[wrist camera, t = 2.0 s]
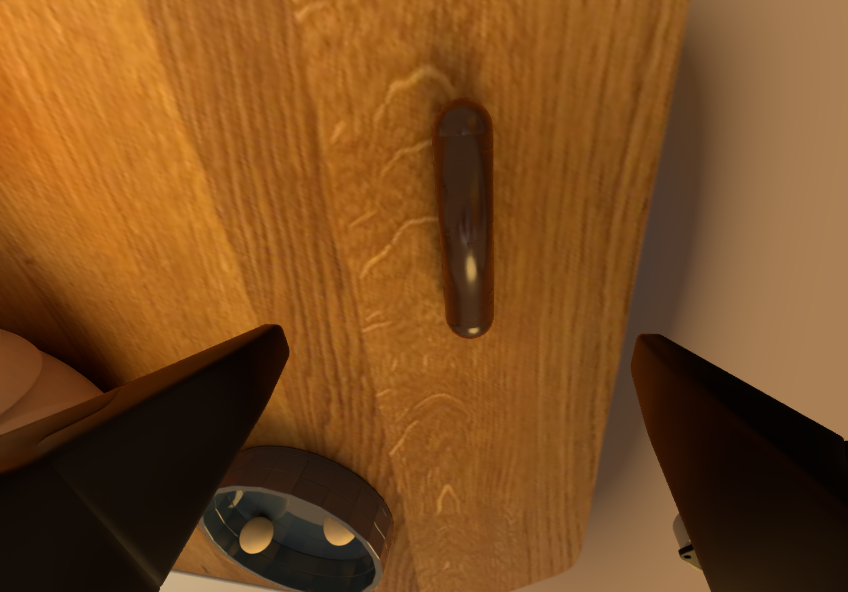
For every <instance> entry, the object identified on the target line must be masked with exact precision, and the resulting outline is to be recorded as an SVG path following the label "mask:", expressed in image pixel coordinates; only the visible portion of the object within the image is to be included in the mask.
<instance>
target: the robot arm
mask: <svg viewBox="0 0 848 592" xmlns="http://www.w3.org/2000/svg"><path fill="white" fill-rule="evenodd" d="M288 357H289V346H288V343H287V340H286V337H285V334H284V331H283V329H282V327H281V326H280V325H276V324H265V325H262V326H260V327H258V328H255V329H253V330H251V331H248V332H246V333H244V334H241V335H239V336H237V337H234V338H232V339H230V340H227V341H225V342H223V343H220V344H218V345H216V346H213V347H211V348H209V349H206V350H204V351H202V352H199V353H197V354H195V355H192V356H190V357H188V358H185V359H183V360H181V361H178V362H176V363H174V364H172V365H169V366H167V367H165V368H162V369H160V370H158V371H155V372H153V373H151V374H148V375H146V376H144V377H141V378H139V379H137V380H134V381H132V382H130V383H127V384H125V385H124V386H123V387H122V386H121V387H118V388H116V389H113V390H111V391H109V392H106V393H104V394H102V395H99V396H97V397H94V398H92V399H90V400H87V401H85V402H82V403H80V404H78V405H75V406H73V407H70V408H68V409H65V410H63V411H60V412H58V413H55V414H53V415H50V416H48V417H45V418H43V419H40V420H38V421H35V422H32V423H30V424H27V425H25V426H22V427H20V428H17V429H14V430H12V431H9V432H7V433H4V434H2V435H0V592H159V590H160V587H161V586H162V584H163V583H164V581H165V579H166V578H167V576H168V574H169V572H170V571H171V569H172V567H173V566H174V564H175V562H176V560H177V559H178V557H179V555H180V554H181V552H182V550H183V548H184V547H185V545H186V543H187V541H188V540H189V538H190V536H191V535H192V533H193V531H194V529H195V528H196V526H197V524H198V523H199V521H200V519H201V517H202V516H203V514H204V512H205V510H206V509H207V507H208V505H209V504H210V502H211V500H212V498H213V497H214V495H215V493H216V492H217V490H218V488H219V486H220V485H221V483H222V481H223V479H224V478H225V476H226V474H227V473H228V471H229V469H230V467H231V466H232V464H233V462H234V461H235V459H236V457H237V455H238V454H239V452H240V450H241V449H242V447H243V445H244V443H245V442H246V440H247V438H248V436H249V435H250V433H251V431H252V430H253V428H254V426H255V424H256V423H257V421H258V419H259V418H260V416H261V414H262V412H263V411H264V409H265V407H266V405H267V403H268V401H269V399H270V397H271V395H272V393H273V391H274V388H275V386H276V384H277V382H278V380H279V377H280V375H281V373H282V371H283V369H284V366H285V364H286V362H287V360H288ZM631 373H632V377H633V381H634V384H635V388H636V392H637V396H638V399H639V403H640V407H641V411H642V414H643V418H644V422H645V426H646V429H647V432H648V435H649V438H650V441H651V443H652V446H653V448H654V451H655V453H656V456H657V458H658V461H659V463H660V466H661V468H662V471H663V473H664V476H665V478H666V481H667V483H668V486H669V488H670V490H671V493H672V496H673V498H674V501H675V503H676V506H677V508H678V510H679V513H680V516H681V518H682V521H683V523H684V526H685V528H686V530H687V533H688V535H689V538H690V540H691V543H692V544H690V545H688V546H686V547H683V548H681V549H679V550H678V553H679V555H680V558H681V559H683V560H684V561H686V562H688V563H690V564H692V565H693V566H695V567H697V568H699V569H701V570H702V571H703V573H704V575H705V577H706V580H707V583H708V585H709V588H710V590H711V592H848V441H844V439H843V437H841V436H840V435H838V434H836V433H834V432H833V431H831V430H829V429H827V428H826V427H824V426H822V425H820V424H818V423H816V422H815V421H813V420H811V419H809V418H808V417H806V416H804V415H802V414H801V413H799V412H797V411H795V410H794V409H792V408H790V407H788V406H787V405H785V404H783V403H781V402H779V401H778V400H776V399H774V398H772V397H771V396H769V395H767V394H765V393H763V392H762V391H760V390H758V389H756V388H754V387H753V386H751V385H749V384H747V383H746V382H744V381H742V380H740V379H739V378H737V377H735V376H733V375H731V374H729V373H728V372H726V371H724V370H722V369H721V368H719V367H717V366H715V365H713V364H712V363H710V362H708V361H706V360H705V359H703V358H701V357H699V356H698V355H696V354H694V353H692V352H691V351H689V350H687V349H685V348H683V347H682V346H680V345H678V344H676V343H675V342H673V341H671V340H669V339H667V338H666V337H664V336H662V335H660V334H640V335H639V336H638V337H637V339H636V344H635V348H634V352H633V357H632V362H631Z"/></svg>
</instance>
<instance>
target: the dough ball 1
mask: <svg viewBox="0 0 848 592" xmlns="http://www.w3.org/2000/svg"><path fill="white" fill-rule="evenodd" d="M272 537H273V525H272V523H271V521H270V520H269V519H267V518H265V517H255V518H253V519H251V520H250V521H248V522H247V523H246V524H245V526H244V527H243V529H242V531H241V533H240V545H241V547H242V549H243V550H244V551H245V552H247V553H251V554H254V553H258V552H260V551H262V550H264V549H265V548H266V547H267V546H268V545H269V543H270V541H271V539H272Z"/></svg>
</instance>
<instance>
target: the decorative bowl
mask: <svg viewBox="0 0 848 592" xmlns="http://www.w3.org/2000/svg"><path fill="white" fill-rule="evenodd" d="M102 394H104V393H103V392H102V391H101V390H100V389H99V388H98V387H97V386H95V385H94V384H93V383H92V382H91V381H89V380H88V379H87V378H86V377H84V376H83V375H82V374H80V373H79V372H78V371H76V370H75V369H73V368H72V367H70V366H69V365H67V364H65V363H63V362H62V361H60V360H58V359H56V358H54V357H52V356H50V355H48V354H46V353H44V352H42V351H40V350H38V349H37V348H36V347H35V346H34V345H33V344H31V343H30V342H29V341H27V340H26V339H24V338H22V337H20V336H18V335H16V334H13V333H11V332H8V331H5V330H2V329H0V435H2V434H4V433H7V432H9V431H12V430H14V429H17V428H20V427H22V426H25V425H27V424H30V423H32V422H35V421H38V420H40V419H43V418H45V417H48V416H50V415H53V414H55V413H58V412H60V411H63V410H65V409H68V408H70V407H73V406H75V405H78V404H80V403H82V402H85V401H87V400H90V399H92V398H94V397H97V396H99V395H102Z"/></svg>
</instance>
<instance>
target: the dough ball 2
mask: <svg viewBox="0 0 848 592" xmlns="http://www.w3.org/2000/svg"><path fill="white" fill-rule="evenodd" d="M324 534H325V536H326V538H327V540H328V541H329V542H330V543H332V544H334V545H339V546H340V545H345V544H347V543H349V542H350V541H351V540H352V539H353V538H354V537H355V536H354V535H353V534H352V533H351V532H349V531H348V530H347V529H346V528H345V527H344V526H342V525H341V524H339V523H338V522H336V521H334V520H333V519H331V518H329V517H328V516H326V518H325V521H324Z"/></svg>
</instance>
